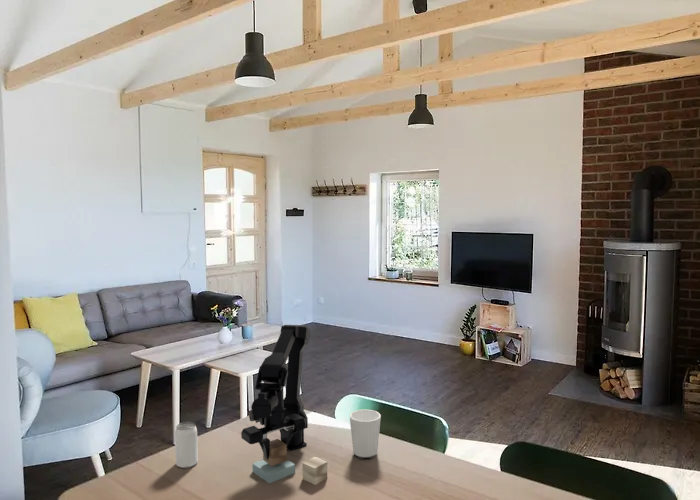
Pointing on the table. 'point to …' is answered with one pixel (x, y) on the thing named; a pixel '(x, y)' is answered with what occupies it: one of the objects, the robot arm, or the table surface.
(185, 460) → the can
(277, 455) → the walnut cube
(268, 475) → the base block
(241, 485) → the table surface
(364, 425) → the cup
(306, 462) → the beech cube
